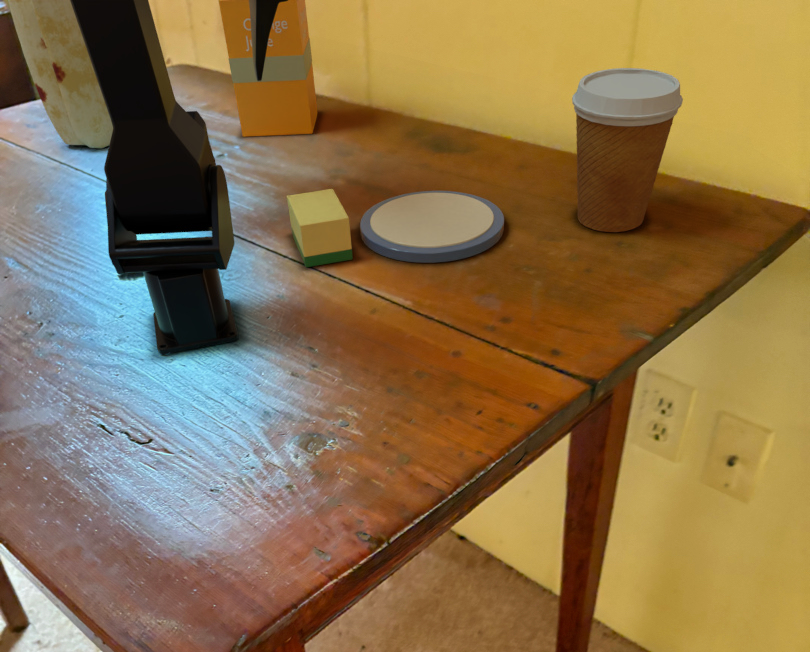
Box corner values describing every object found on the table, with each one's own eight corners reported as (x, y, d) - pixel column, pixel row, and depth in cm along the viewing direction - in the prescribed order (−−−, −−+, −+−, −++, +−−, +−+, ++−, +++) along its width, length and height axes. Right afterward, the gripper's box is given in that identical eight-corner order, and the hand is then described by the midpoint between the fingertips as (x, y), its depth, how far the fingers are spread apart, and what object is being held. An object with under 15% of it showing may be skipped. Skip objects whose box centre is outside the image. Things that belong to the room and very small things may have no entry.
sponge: (353, 259, 75) (349, 217, 72) (305, 267, 74) (299, 225, 71) (337, 229, 80) (332, 188, 77) (292, 236, 79) (286, 195, 76)
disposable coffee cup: (678, 214, 78) (706, 78, 70) (625, 249, 74) (648, 108, 65) (596, 190, 83) (612, 60, 75) (541, 222, 78) (551, 87, 70)
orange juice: (312, 133, 99) (288, -68, 85) (241, 137, 99) (206, -63, 85) (318, 112, 104) (296, -80, 90) (251, 115, 105) (219, -76, 90)
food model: (133, 128, 103) (81, -64, 89) (137, 145, 99) (83, -54, 85) (55, 139, 102) (-11, -55, 87) (55, 158, 97) (-14, -44, 83)
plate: (525, 248, 75) (526, 235, 74) (380, 273, 73) (379, 261, 72) (476, 191, 84) (476, 180, 84) (346, 212, 82) (345, 200, 81)
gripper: (267, -151, 71) (293, 51, 82) (48, -131, 68) (106, 75, 79) (289, -138, 63) (314, 82, 74) (43, -116, 60) (108, 110, 71)
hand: (209, 86), depth 75 cm, fingers open, 9 cm apart
